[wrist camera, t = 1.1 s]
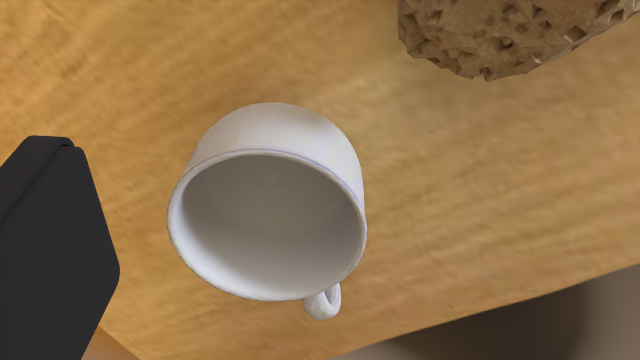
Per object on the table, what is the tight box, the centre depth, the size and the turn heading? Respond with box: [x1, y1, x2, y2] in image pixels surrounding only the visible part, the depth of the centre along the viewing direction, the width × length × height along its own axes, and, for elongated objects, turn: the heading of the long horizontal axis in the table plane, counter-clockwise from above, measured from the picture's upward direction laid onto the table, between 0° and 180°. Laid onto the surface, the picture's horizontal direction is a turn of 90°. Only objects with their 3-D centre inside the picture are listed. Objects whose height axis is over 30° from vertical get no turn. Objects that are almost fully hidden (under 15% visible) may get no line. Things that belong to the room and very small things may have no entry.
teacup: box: [167, 102, 367, 320], centre depth 36 cm, size 14×11×8 cm
